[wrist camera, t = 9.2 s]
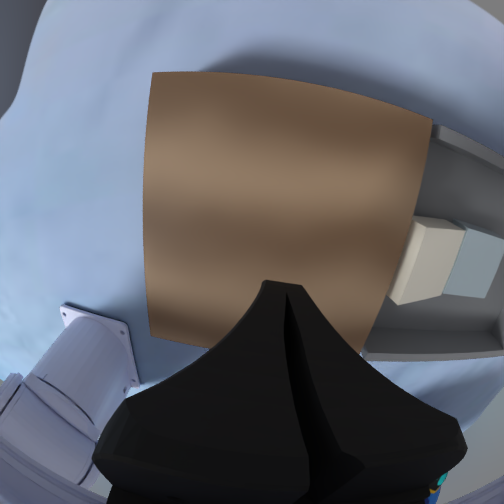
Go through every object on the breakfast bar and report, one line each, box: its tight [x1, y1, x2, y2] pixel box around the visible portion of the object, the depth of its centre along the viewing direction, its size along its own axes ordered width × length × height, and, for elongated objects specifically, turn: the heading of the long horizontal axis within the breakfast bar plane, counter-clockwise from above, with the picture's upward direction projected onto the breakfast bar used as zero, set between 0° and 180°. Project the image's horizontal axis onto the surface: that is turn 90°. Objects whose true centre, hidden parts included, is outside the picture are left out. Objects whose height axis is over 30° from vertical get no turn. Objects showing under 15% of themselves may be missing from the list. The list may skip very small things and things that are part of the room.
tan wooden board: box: [143, 72, 433, 354], centre depth 16 cm, size 16×14×4 cm
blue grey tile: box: [442, 219, 504, 298], centre depth 16 cm, size 5×5×2 cm
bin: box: [361, 125, 504, 362], centre depth 16 cm, size 16×18×4 cm
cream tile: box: [386, 216, 465, 305], centre depth 16 cm, size 5×5×2 cm
